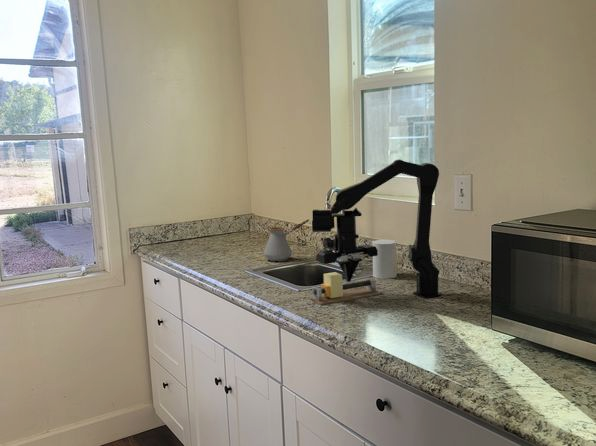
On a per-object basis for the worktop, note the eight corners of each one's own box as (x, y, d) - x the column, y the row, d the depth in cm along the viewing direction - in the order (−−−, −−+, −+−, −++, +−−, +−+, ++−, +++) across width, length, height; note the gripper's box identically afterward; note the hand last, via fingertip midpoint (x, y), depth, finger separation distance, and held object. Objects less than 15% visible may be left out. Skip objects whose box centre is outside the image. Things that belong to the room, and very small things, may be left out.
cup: (396, 278, 194) (395, 244, 192) (372, 278, 195) (371, 244, 194) (397, 273, 202) (396, 239, 200) (373, 272, 203) (373, 239, 202)
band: (330, 296, 170) (329, 285, 170) (326, 296, 170) (326, 286, 169) (325, 293, 173) (324, 283, 173) (321, 294, 173) (321, 284, 172)
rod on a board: (380, 294, 175) (380, 281, 175) (320, 305, 166) (320, 291, 166) (366, 288, 183) (366, 276, 182) (308, 298, 174) (307, 285, 173)
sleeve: (342, 296, 172) (342, 274, 171) (331, 298, 170) (330, 276, 169) (335, 292, 176) (335, 272, 175) (324, 294, 174) (323, 273, 173)
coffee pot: (271, 264, 224) (270, 226, 222) (259, 259, 234) (257, 223, 232) (318, 256, 234) (317, 220, 232) (304, 252, 244) (303, 217, 242)
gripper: (358, 224, 183) (360, 272, 185) (306, 231, 175) (309, 280, 177) (378, 228, 173) (379, 278, 176) (324, 236, 165) (326, 288, 168)
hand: (348, 281), depth 174 cm, fingers closed
